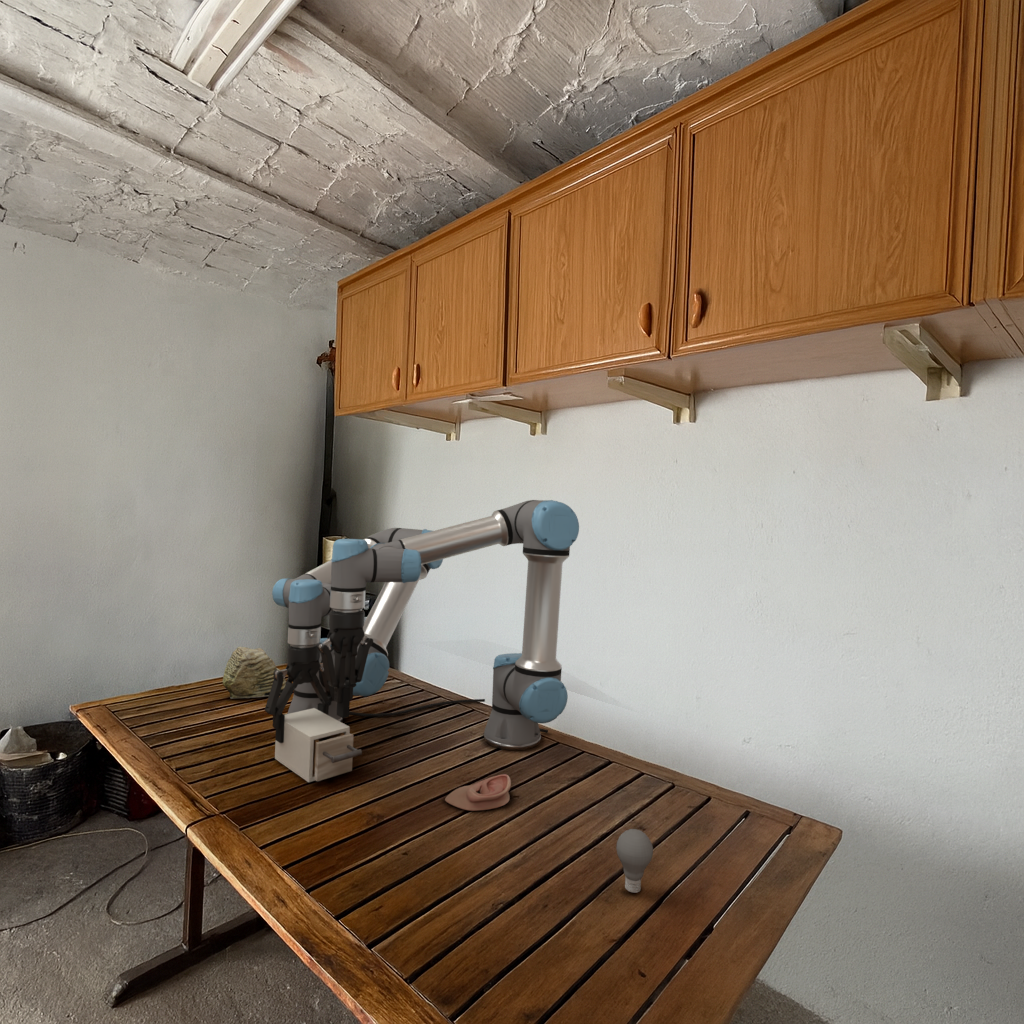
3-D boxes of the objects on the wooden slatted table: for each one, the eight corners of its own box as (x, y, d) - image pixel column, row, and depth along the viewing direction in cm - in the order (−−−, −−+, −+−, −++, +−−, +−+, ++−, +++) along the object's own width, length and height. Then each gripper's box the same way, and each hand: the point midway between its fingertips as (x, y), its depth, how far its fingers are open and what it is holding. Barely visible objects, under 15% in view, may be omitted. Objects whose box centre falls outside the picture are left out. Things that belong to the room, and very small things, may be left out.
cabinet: (348, 770, 147) (350, 726, 147) (308, 782, 140) (310, 736, 140) (312, 748, 159) (314, 707, 159) (274, 758, 152) (276, 716, 152)
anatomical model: (441, 787, 131) (457, 765, 142) (440, 806, 131) (456, 783, 143) (503, 796, 129) (514, 773, 140) (502, 816, 129) (513, 791, 140)
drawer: (364, 778, 141) (365, 741, 141) (329, 789, 135) (330, 751, 135) (318, 749, 156) (319, 716, 156) (284, 759, 149) (285, 724, 149)
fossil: (218, 695, 195) (220, 647, 195) (278, 685, 208) (279, 640, 207) (228, 703, 189) (230, 653, 188) (289, 692, 201) (290, 645, 201)
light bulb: (610, 879, 108) (613, 822, 108) (644, 879, 109) (647, 822, 109) (619, 902, 102) (622, 840, 102) (655, 901, 103) (658, 840, 103)
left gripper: (265, 654, 142) (261, 752, 142) (353, 641, 158) (350, 729, 159) (251, 647, 147) (247, 742, 148) (337, 635, 163) (334, 721, 164)
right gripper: (329, 614, 132) (324, 727, 132) (382, 609, 141) (377, 714, 142) (311, 609, 137) (307, 717, 138) (363, 604, 146) (359, 705, 147)
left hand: (300, 735), depth 153 cm, fingers closed on cabinet, 10 cm apart
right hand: (342, 715), depth 140 cm, fingers closed
